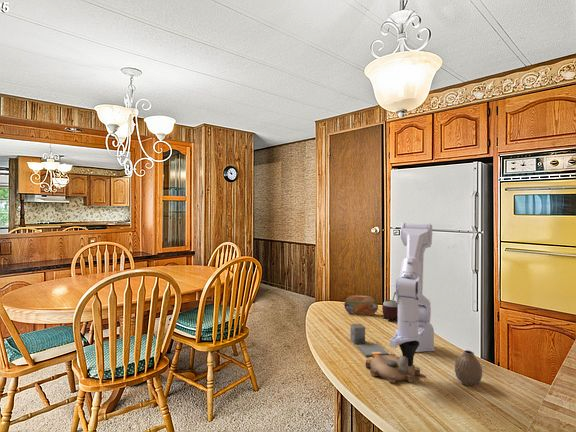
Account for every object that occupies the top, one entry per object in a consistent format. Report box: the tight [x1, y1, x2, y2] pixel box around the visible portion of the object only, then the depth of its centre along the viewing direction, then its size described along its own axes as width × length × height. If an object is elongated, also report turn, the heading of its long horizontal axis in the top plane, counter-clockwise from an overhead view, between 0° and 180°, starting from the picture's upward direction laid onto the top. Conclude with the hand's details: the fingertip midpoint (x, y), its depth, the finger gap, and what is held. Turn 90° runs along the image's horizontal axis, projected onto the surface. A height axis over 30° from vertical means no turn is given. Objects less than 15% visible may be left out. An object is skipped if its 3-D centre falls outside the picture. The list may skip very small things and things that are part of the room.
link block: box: [350, 323, 366, 345], centre depth 123 cm, size 4×4×6 cm
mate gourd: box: [382, 290, 398, 323], centre depth 147 cm, size 8×8×15 cm
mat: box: [356, 343, 390, 358], centre depth 116 cm, size 8×8×1 cm
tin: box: [343, 295, 379, 316], centre depth 155 cm, size 15×3×8 cm, turn 81°
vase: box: [454, 349, 483, 387], centre depth 96 cm, size 7×7×9 cm
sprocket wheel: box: [365, 353, 421, 384], centre depth 102 cm, size 16×16×5 cm
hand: (407, 364), depth 99 cm, fingers closed, pressing on sprocket wheel
